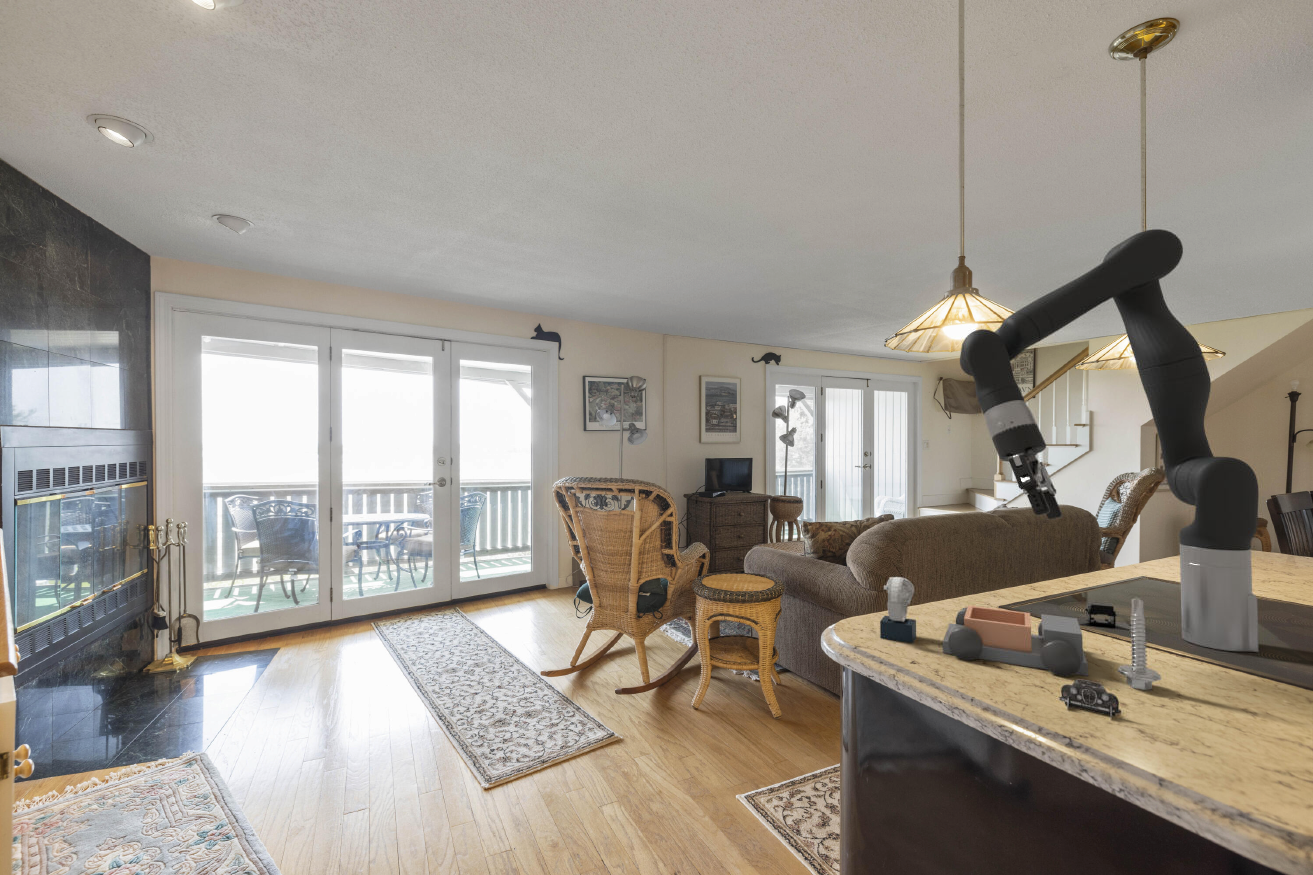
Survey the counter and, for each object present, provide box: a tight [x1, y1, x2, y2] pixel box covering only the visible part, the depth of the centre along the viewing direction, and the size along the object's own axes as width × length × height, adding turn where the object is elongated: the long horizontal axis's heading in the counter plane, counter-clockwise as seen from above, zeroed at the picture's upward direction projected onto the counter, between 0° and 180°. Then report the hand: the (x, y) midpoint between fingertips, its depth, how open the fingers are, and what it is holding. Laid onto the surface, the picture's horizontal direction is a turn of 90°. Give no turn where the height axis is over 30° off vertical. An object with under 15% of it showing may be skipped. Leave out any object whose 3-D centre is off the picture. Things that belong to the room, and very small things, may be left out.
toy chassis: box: [942, 605, 1089, 677], centre depth 99 cm, size 20×16×6 cm
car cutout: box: [1058, 679, 1122, 718], centre depth 75 cm, size 15×7×4 cm, turn 50°
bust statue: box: [879, 576, 917, 644], centre depth 108 cm, size 6×8×11 cm
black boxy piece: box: [1076, 600, 1131, 632], centre depth 115 cm, size 12×7×5 cm, turn 64°
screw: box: [1117, 597, 1162, 691], centre depth 85 cm, size 13×5×5 cm
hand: (1049, 516), depth 100 cm, fingers open, 8 cm apart
